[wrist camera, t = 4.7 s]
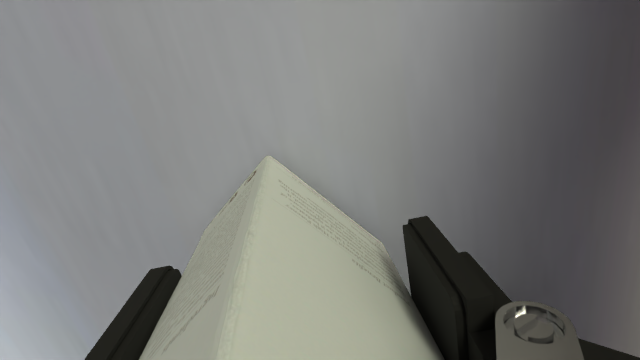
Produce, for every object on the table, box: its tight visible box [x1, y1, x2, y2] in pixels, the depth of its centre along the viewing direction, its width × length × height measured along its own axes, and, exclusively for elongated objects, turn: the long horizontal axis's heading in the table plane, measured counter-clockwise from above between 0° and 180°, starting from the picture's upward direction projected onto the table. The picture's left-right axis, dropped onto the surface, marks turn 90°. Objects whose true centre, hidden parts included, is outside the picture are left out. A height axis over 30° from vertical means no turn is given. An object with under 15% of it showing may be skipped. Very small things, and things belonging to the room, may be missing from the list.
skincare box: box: [139, 156, 445, 360], centre depth 8 cm, size 6×4×12 cm
